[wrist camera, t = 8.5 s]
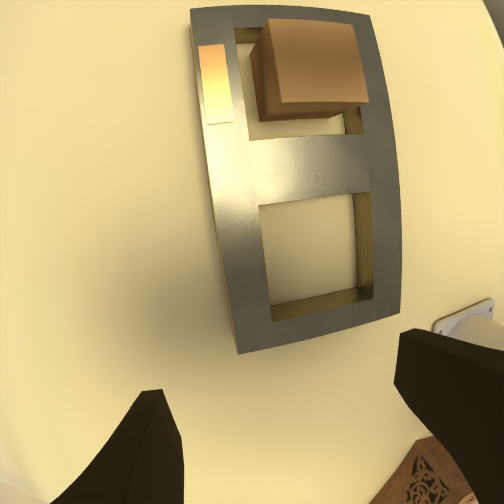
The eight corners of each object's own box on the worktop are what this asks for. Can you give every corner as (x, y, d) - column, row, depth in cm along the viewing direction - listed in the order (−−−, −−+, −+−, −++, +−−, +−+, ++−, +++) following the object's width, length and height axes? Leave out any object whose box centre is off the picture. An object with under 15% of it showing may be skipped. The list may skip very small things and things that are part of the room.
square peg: (328, 118, 16) (369, 102, 12) (259, 122, 15) (282, 102, 11) (317, 55, 15) (352, 24, 11) (249, 55, 14) (267, 18, 10)
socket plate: (383, 301, 19) (401, 314, 17) (233, 336, 18) (238, 356, 16) (354, 27, 15) (371, 14, 13) (189, 25, 13) (189, 7, 11)
